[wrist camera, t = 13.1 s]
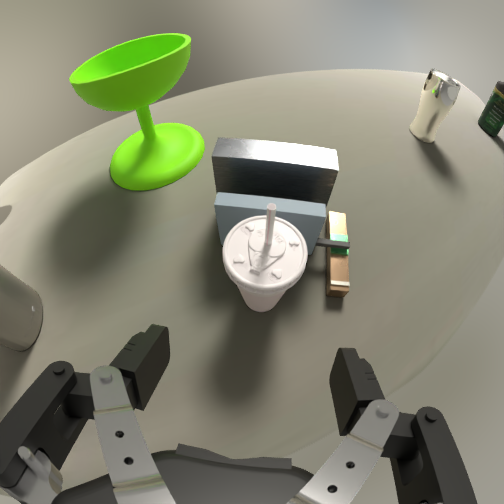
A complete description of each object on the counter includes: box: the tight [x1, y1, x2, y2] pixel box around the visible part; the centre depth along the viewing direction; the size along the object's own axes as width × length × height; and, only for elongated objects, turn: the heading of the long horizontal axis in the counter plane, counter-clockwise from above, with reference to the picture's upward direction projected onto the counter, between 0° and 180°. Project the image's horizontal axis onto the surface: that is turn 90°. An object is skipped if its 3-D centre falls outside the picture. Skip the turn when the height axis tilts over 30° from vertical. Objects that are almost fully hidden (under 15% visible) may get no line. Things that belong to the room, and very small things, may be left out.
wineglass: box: [69, 33, 205, 190], centre depth 32 cm, size 16×16×18 cm
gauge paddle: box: [214, 192, 350, 255], centre depth 27 cm, size 14×2×7 cm, turn 83°
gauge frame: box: [212, 138, 349, 297], centre depth 27 cm, size 15×12×10 cm
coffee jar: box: [478, 81, 504, 137], centre depth 45 cm, size 10×8×19 cm
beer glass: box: [409, 69, 460, 143], centre depth 39 cm, size 7×7×15 cm
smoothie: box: [223, 203, 308, 312], centre depth 23 cm, size 6×6×14 cm
